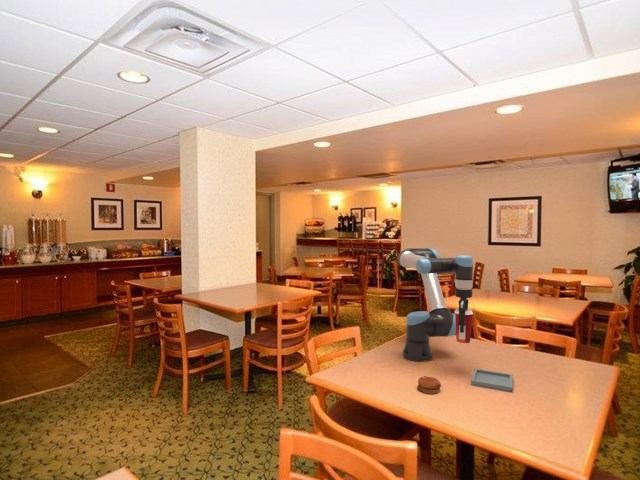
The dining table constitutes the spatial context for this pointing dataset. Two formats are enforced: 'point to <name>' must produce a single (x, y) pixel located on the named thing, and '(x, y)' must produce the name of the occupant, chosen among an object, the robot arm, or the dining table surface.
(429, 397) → the dining table surface
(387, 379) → the dining table surface
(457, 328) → the coffee cup
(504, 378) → the tray
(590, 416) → the dining table surface
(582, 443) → the dining table surface
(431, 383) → the burger
